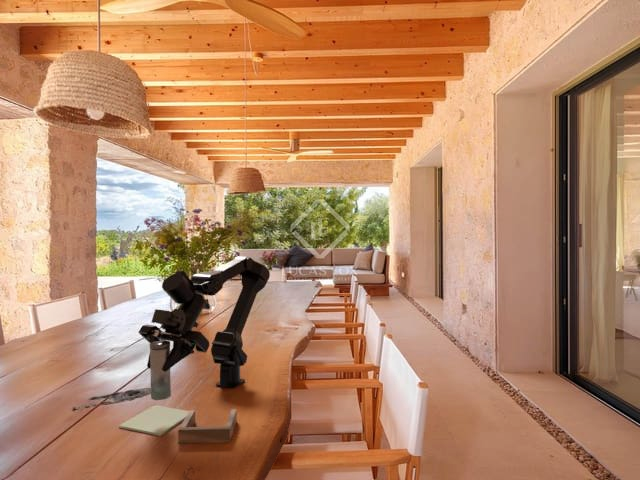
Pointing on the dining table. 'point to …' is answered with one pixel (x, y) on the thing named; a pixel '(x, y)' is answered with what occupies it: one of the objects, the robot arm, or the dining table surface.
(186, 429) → the cubby
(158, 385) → the canister
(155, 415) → the tile
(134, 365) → the dining table surface
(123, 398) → the driftwood
